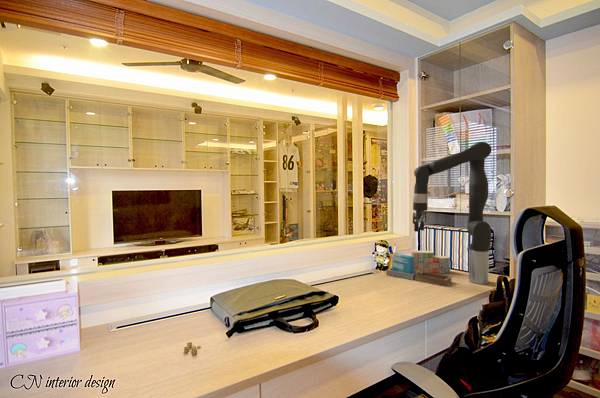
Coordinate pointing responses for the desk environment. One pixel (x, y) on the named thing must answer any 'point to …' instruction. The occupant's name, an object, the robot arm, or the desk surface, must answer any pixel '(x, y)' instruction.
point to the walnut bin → (433, 278)
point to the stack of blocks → (430, 262)
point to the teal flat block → (403, 263)
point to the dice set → (193, 348)
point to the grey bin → (402, 274)
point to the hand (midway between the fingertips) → (419, 230)
